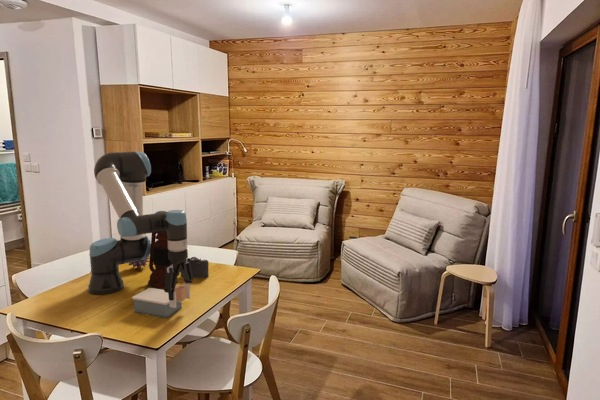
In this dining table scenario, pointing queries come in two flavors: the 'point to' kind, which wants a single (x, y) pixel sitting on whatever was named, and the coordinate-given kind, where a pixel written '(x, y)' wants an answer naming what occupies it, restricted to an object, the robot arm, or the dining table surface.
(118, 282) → the robot arm
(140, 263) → the purple spiky ball
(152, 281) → the lantern
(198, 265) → the camera
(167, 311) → the tub
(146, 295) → the lid
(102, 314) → the dining table surface
